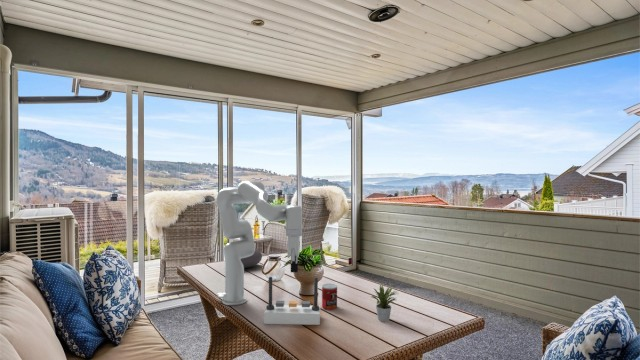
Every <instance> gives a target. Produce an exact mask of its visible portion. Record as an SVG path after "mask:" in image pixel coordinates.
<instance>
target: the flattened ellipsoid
mask: <svg viewBox="0 0 640 360" xmlns="http://www.w3.org/2000/svg"><path fill="white" fill-rule="evenodd" d="M262 259H263V254H262V252H261V250H259V249H258V248H256V247H255V251H254V254H253V255H251V256H249V257H245V258H242V259H241V262H242V264H243V266H244V269H248V268H252V267H255V266H256V265H258V264H259V263H260V262H261V261H262Z"/></svg>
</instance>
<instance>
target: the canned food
mask: <svg viewBox="0 0 640 360" xmlns="http://www.w3.org/2000/svg"><path fill="white" fill-rule="evenodd" d="M321 307H322V309H324V310H327V311H332V310H336V309H337V307H338V285H337V284H335V283H324V284H322V286H321Z"/></svg>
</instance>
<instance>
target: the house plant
mask: <svg viewBox="0 0 640 360" xmlns="http://www.w3.org/2000/svg"><path fill="white" fill-rule="evenodd" d="M393 289H394V286H392V287H391V285H389V286H388V287H387V288H386V289H385V288H384V285H383V284H379V288H378V289H376V288H373V290H374V293H375V295H376V296H377V297H378V298H377V297H376V296H374V295H372V296H370V298H372V299H374V300H376V305H375V309H376V314H377V320H378V321H380V322H384V323H385V322H389V321H390V317H391V311H392V305H390V303H391V304H393V305H395V302H394V301H396V297H393V296H394V295H396V294H398V291H397V290H395V291H393V292H392V290H393ZM377 290H379V291H377Z"/></svg>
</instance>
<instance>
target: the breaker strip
mask: <svg viewBox="0 0 640 360" xmlns="http://www.w3.org/2000/svg"><path fill="white" fill-rule="evenodd" d="M273 305H274V309H273V310H267V309H266V308H265V310H264V312H263V317H264V318H263V323H264V325H305V326H306V325H313V326H315V325H319V326H320V324H321V309H320V310H319V311H313V310H312V306H313V305H310V307H302V304H301V305H299V304H297V307H289V304H284V307H276V304H273ZM318 306H319V307H320V308H321V305H318Z"/></svg>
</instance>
